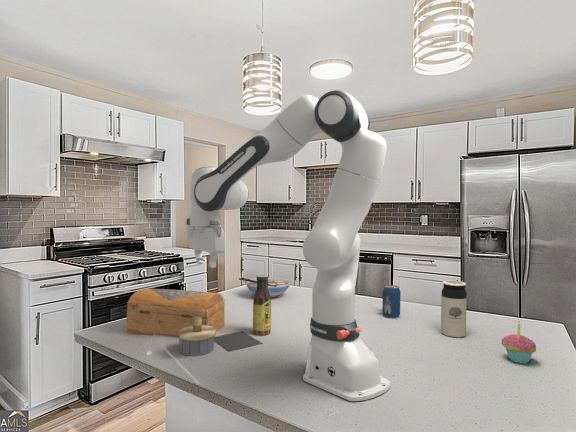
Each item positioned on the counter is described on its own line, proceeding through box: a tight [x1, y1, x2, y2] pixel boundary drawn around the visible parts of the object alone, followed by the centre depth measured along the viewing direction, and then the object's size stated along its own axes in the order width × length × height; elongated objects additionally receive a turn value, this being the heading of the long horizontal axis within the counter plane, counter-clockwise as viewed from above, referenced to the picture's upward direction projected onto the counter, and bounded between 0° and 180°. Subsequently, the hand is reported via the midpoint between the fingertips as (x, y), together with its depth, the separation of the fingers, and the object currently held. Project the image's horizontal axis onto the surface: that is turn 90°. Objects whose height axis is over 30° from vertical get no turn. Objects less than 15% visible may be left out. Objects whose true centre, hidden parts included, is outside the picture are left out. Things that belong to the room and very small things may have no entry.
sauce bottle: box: [252, 274, 272, 337], centre depth 128 cm, size 6×6×20 cm
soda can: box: [381, 284, 402, 319], centre depth 150 cm, size 7×7×12 cm
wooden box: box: [126, 288, 226, 338], centre depth 131 cm, size 30×16×14 cm, turn 76°
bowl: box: [178, 336, 215, 357], centre depth 112 cm, size 10×10×5 cm
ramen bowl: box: [238, 276, 292, 299], centre depth 181 cm, size 25×23×8 cm
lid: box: [178, 316, 217, 341], centre depth 112 cm, size 11×11×5 cm
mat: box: [214, 330, 264, 353], centre depth 120 cm, size 14×12×1 cm
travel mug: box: [440, 280, 468, 339], centre depth 129 cm, size 8×8×18 cm
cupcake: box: [500, 322, 537, 364], centre depth 107 cm, size 9×8×12 cm
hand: (205, 265), depth 115 cm, fingers open, 8 cm apart
